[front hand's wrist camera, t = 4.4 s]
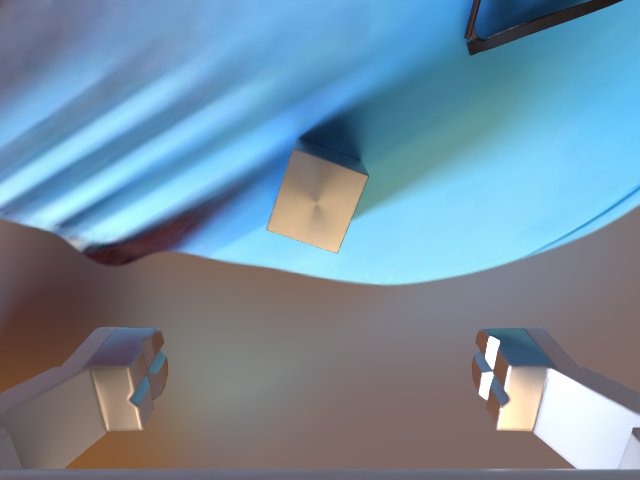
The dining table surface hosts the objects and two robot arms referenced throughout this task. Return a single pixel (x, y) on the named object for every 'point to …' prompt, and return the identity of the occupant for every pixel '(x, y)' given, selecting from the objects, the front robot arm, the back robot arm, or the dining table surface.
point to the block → (317, 196)
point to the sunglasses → (528, 24)
